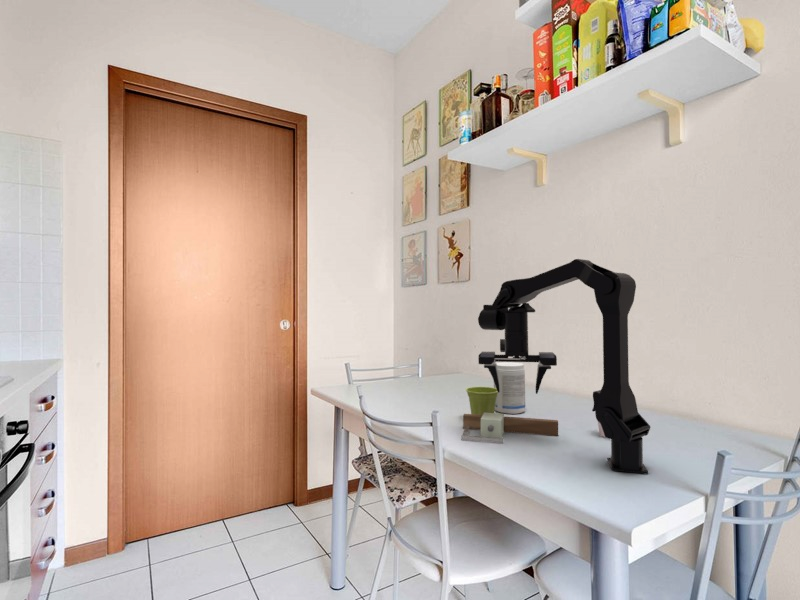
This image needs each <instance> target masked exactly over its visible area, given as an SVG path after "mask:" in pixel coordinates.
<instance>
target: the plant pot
mask: <svg viewBox="0 0 800 600" xmlns="http://www.w3.org/2000/svg"><path fill="white" fill-rule="evenodd" d="M465 392H467V396H468V400H469V406H470V414H476V415H483V414H484V413H495V412H496V410H495V403H496V397H497V394H498V391H497V389H496V388H494V387H490V386H470V387H466V388H465Z"/></svg>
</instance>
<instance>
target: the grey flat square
mask: <svg viewBox="0 0 800 600" xmlns="http://www.w3.org/2000/svg"><path fill="white" fill-rule="evenodd" d="M470 431H471V429H470V426H466V428H465V429H463V431H462V434H461V435H460V436H461V437H460V439H461V441H468V442H469V441H470V442H478V443H479V442H480V443H481V442H482V443H492V444H504V437H502V438H495V437H483V436H481V435H470V434H469V433H470Z"/></svg>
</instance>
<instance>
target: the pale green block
mask: <svg viewBox="0 0 800 600" xmlns="http://www.w3.org/2000/svg"><path fill="white" fill-rule="evenodd" d="M504 415H505V413H499V412H498V413H497V412H494V413H484V414H483V416H482V417H481V430H480V436H483V437H495V438H504V437H503V436H504V433H505V432H504Z"/></svg>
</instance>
